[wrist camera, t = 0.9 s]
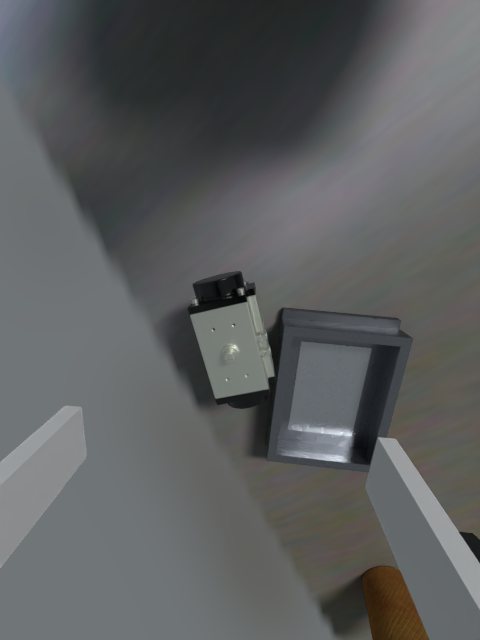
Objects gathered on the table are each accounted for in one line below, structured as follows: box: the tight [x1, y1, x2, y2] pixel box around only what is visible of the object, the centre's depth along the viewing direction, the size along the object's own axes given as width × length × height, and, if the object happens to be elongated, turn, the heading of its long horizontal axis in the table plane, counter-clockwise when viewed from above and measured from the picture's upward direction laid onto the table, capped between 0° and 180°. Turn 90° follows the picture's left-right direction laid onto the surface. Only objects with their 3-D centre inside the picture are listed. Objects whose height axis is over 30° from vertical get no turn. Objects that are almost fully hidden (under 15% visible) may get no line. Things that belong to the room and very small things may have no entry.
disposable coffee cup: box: [362, 566, 429, 640], centre depth 38 cm, size 10×10×12 cm
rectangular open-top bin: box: [265, 308, 413, 472], centre depth 33 cm, size 19×13×4 cm
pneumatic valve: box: [188, 271, 276, 409], centre depth 27 cm, size 6×12×12 cm, turn 14°
